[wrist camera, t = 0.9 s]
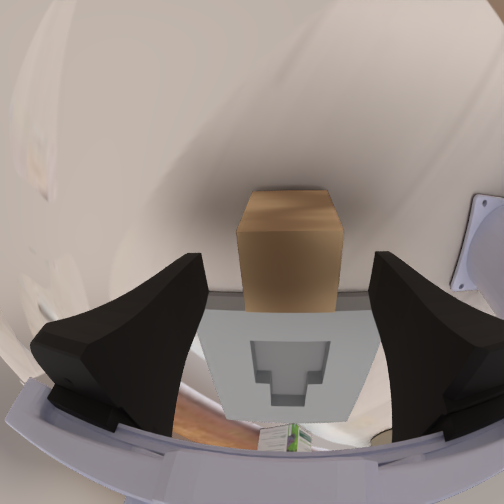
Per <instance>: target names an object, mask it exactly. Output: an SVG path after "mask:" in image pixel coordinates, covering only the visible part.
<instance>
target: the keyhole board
mask: <svg viewBox="0 0 504 504" xmlns="http://www.w3.org/2000/svg"><path fill="white" fill-rule="evenodd" d="M197 333H198V337H199V340H200V343H201V346H202V349H203V353H204V356H205V359H206V362H207V365H208V368H209V371H210V374H211V377H212V380H213V383H214V385H215V388H216V391H217V394H218V397H219V399H220V402H221V405H222V408H223V410H224V413H225V416H226V418H227V419H230V420H240V421H252V422H268V423H330V422H346V421H347V420H348V418H349V416H350V414H351V411H352V409H353V407H354V405H355V403H356V401H357V399H358V396H359V394H360V392H361V390H362V387H363V385H364V383H365V380H366V378H367V375H368V373H369V371H370V368H371V365H372V363H373V360H374V358H375V355H376V352H377V350H378V347H379V344H380V341H381V339H380V336H379V333H378V329H377V326H376V323H375V320H374V317H373V314H372V310H371V305H370V300H369V294H368V292H346V293H337V300H336V307H335V313H257V312H246V309H245V301H244V293H238V292H209V294H208V299H207V303H206V307H205V311H204V314H203V316H202V319H201V322H200V324H199V327H198V329H197Z"/></svg>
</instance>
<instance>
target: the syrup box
mask: <svg viewBox="0 0 504 504" xmlns="http://www.w3.org/2000/svg"><path fill="white" fill-rule="evenodd" d="M311 447H312V434H310V433H308V432H307V431H305V430H304V429H302V428H301V427H299V426H298V425H297V424H295V423H292V424H287V425H282V426H276V427H271V428H266V429H261V430H260V435H259V442H258V448H257V450H259V451H280V452H311Z"/></svg>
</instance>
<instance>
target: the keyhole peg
mask: <svg viewBox="0 0 504 504" xmlns="http://www.w3.org/2000/svg"><path fill="white" fill-rule="evenodd" d="M236 235H237V244H238V252H239V261H240V269H241V277H242V285H243V293H244V301H245V309H246V312H257V313H335V307H336V300H337V293H338V285H339V277H340V268H341V259H342V248H343V237H344V230H343V227H342V225H341V222H340V220H339V217H338V215H337V212H336V210H335V207H334V205H333V203H332V200H331V198H330V196H329V193H328V191H327V190H287V191H253V192H252V194H251V196H250V199H249V201H248V204H247V206H246V209H245V211H244V214H243V216H242V218H241V221H240V223H239V226H238V228H237V231H236Z"/></svg>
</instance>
